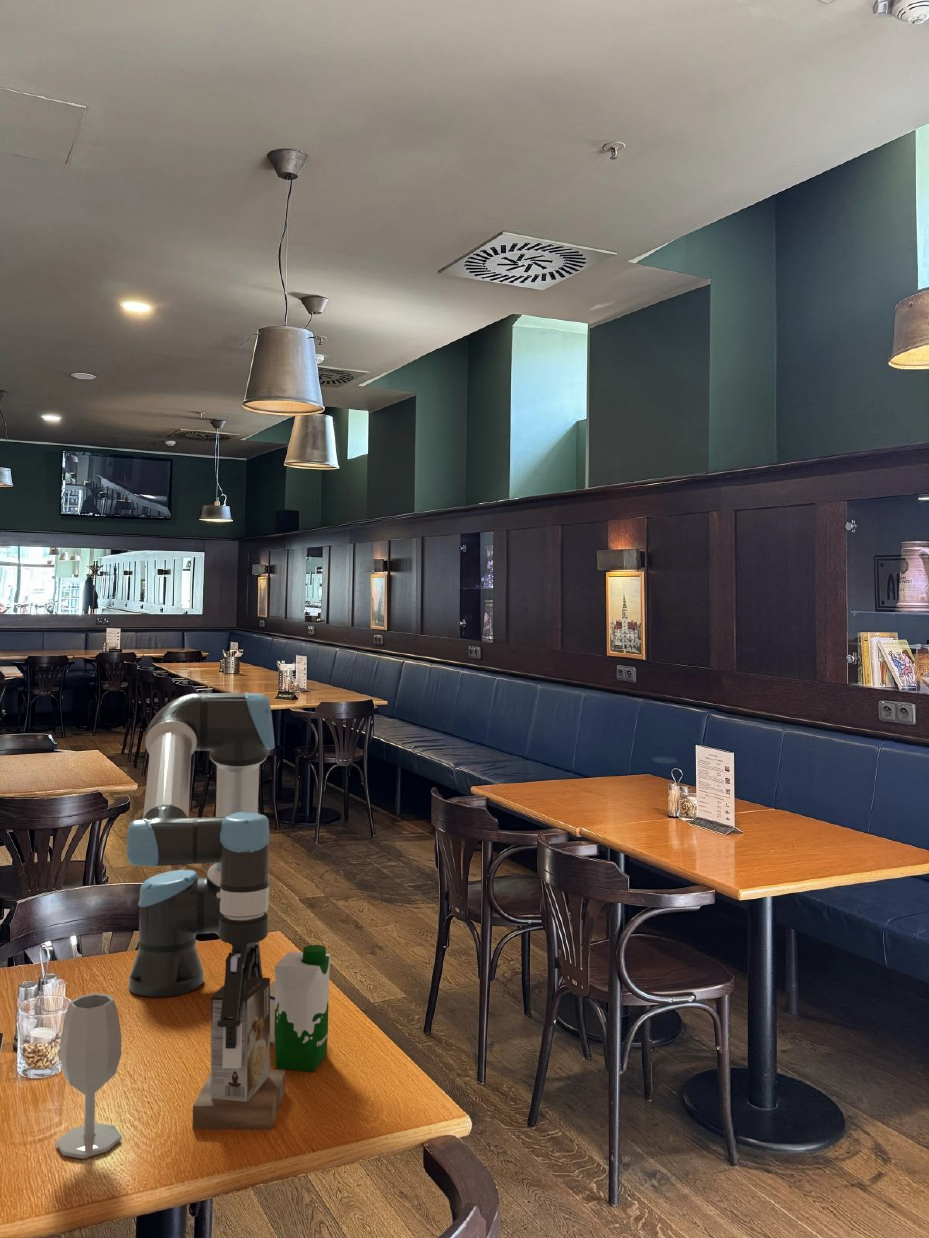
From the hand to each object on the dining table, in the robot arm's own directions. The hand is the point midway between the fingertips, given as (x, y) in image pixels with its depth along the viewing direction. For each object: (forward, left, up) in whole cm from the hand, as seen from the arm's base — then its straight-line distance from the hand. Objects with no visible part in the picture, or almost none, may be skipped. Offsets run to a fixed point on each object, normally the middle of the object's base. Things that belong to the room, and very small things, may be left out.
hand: (241, 1047), depth 152 cm
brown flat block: (0, 0, -10) cm, 10 cm away
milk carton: (-17, +7, -10) cm, 21 cm away
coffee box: (0, 0, -6) cm, 6 cm away
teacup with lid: (-29, +3, -10) cm, 31 cm away
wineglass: (+10, -20, -10) cm, 25 cm away
